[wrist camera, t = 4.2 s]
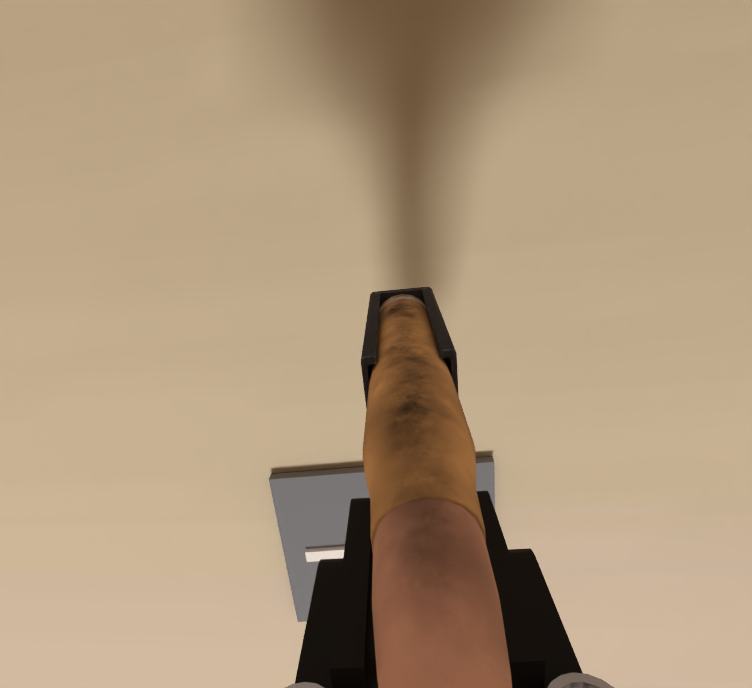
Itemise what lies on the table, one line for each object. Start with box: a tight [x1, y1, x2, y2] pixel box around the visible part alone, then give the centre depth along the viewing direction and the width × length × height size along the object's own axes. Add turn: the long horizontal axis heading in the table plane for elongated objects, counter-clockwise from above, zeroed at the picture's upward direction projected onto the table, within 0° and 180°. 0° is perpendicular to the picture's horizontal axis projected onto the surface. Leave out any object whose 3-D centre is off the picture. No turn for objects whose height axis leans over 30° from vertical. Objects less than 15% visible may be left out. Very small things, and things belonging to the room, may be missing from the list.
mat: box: [269, 456, 495, 622], centre depth 29 cm, size 14×12×1 cm
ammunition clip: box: [361, 287, 512, 688], centre depth 9 cm, size 11×2×12 cm, turn 6°
